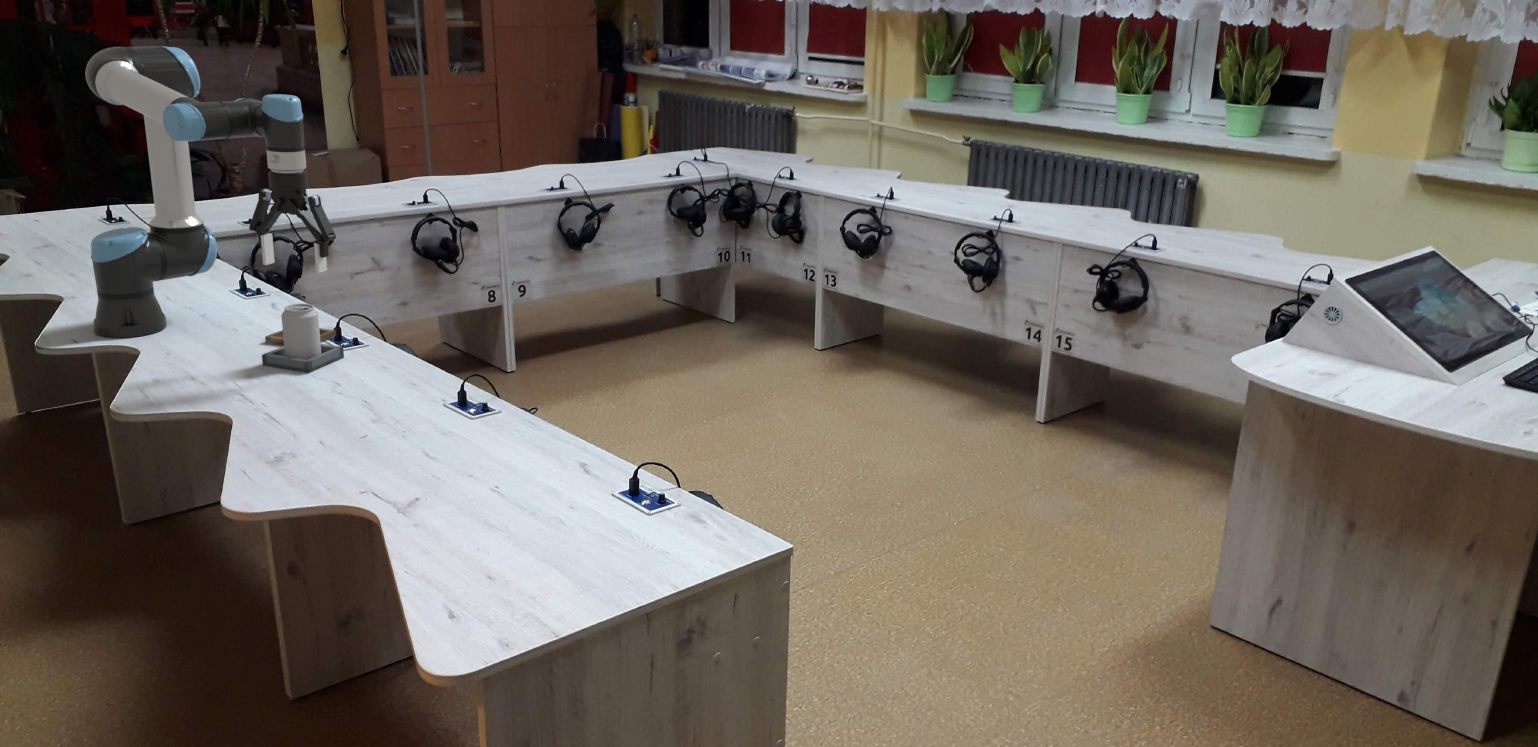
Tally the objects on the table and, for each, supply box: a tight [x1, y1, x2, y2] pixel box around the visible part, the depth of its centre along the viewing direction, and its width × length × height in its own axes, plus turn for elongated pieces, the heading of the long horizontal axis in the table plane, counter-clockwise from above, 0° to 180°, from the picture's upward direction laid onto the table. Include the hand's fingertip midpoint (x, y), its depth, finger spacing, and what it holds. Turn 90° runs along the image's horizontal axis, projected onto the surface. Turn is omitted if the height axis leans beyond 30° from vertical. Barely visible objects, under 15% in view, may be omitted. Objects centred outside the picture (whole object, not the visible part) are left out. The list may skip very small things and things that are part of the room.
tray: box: [261, 343, 345, 374], centre depth 249 cm, size 12×12×2 cm
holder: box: [264, 327, 337, 347], centre depth 264 cm, size 11×11×2 cm
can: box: [280, 303, 322, 360], centre depth 248 cm, size 8×8×12 cm
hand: (295, 267), depth 243 cm, fingers open, 13 cm apart
